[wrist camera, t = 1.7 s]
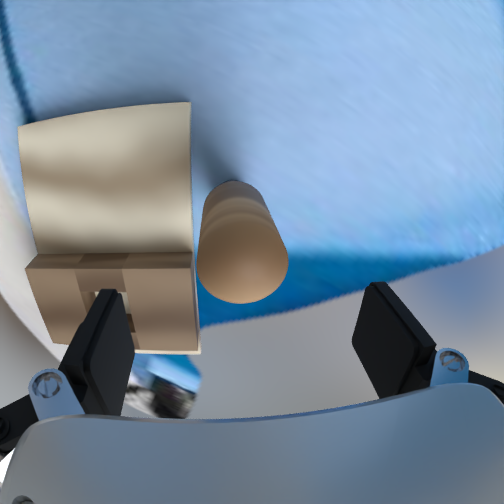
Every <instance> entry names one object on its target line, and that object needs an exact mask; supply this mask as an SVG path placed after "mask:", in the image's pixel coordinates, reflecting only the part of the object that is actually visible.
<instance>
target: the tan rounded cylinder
mask: <svg viewBox="0 0 504 504" xmlns="http://www.w3.org/2000/svg"><path fill="white" fill-rule="evenodd" d="M287 269H288V254H287V250H286V248H285V246H284V243H283V241H282V239H281V237H280V235H279V232H278V230H277V228H276V226H275V223H274V221H273V219H272V217H271V215H270V212H269V210H268V208H267V206H266V204H265V202H264V199H263V197H262V196H261V194H260V193H259V191H258V190H257V189H255V188H254V187H253V186H251V185H249V184H247V183H244V182H240V181H235V180H230V181H226V182H224V183H223V184H221V185H219V186H217V187H216V188H214V189H213V190H212V191H211V192H210V193H209V195H208V196H207V198H206V200H205V203H204V207H203V214H202V222H201V229H200V237H199V245H198V254H197V273H198V277H199V279H200V281H201V283H202V284H203V286H204V287H205V288H206V289H207V291H209V292H210V293H211V294H212V295H214V296H215V297H217V298H219V299H221V300H224V301H227V302H231V303H250V302H254V301H258V300H260V299H263V298H265V297H266V296H268V295H270V294H271V293H272V292H274V291H275V290H276V289H277V288H278V287H279V285H280V284H281V283H282V281H283V280H284V278H285V275H286V273H287Z"/></svg>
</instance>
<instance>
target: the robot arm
mask: <svg viewBox="0 0 504 504" xmlns="http://www.w3.org/2000/svg"><path fill="white" fill-rule="evenodd" d="M352 345H353V347H354V349H355V351H356V353H357V355H358V357H359V359H360V361H361V363H362V365H363V367H364V369H365V371H366V373H367V374H368V377H369V378H370V380H371V382H372V384H373V386H374V388H375V390H376V392H377V395H378V396H379V399H378V400H373V401H368V402H363V403H359V404H354V405H348V406H342V407H336V408H330V409H324V410H317V411H311V412H303V413H295V414H286V415H276V416H264V417H251V418H232V419H162V418H139V417H125V416H120V415H121V410H122V406H123V402H124V397H125V393H126V388H127V384H128V380H129V376H130V372H131V368H132V364H133V360H134V356H135V347H134V343H133V339H132V335H131V331H130V327H129V323H128V319H127V315H126V311H125V306H124V302H123V297H122V294H121V293H118V292H117V290H116V289H101V290H100V291H99V293H98V295H97V297H96V299H95V300H94V302H93V304H92V306H91V308H90V310H89V312H88V314H87V315H86V317H85V319H84V321H83V322H82V323H81V324H80V325H79V327H78V329H77V331H76V332H75V334H74V336H73V338H72V341H71V343H70V345H69V347H68V349H67V351H66V353H65V355H64V357H63V359H62V361H61V364H60V366H59V368H58V370H57V369H45V370H42V371H40V372H38V373H36V374H35V375H34V376H33V377H32V379H31V381H30V382H29V386H28V390H29V394H28V395H26V396H25V397H23V398H21V399H19V400H17V401H15V402H13V403H11V404H9V405H7V406H5V407H3V408H1V409H0V504H504V384H503V383H502V382H500V381H497V380H494V379H491V378H489V377H486V376H484V375H480V374H478V373H475V372H473V371H470V370H469V364H468V361H467V359H466V357H465V356H464V355H463V354H462V353H460V352H459V351H457V350H455V349H451V348H443V349H441V350H439V351H438V352H437V351H436V350H435V347H436V343H435V342H434V341H433V339H432V338H431V337H430V335H429V334H428V333H427V332H426V330H425V329H424V328H423V326H422V325H421V324H420V323H419V321H418V320H417V319H416V318H415V317H414V316H413V314H412V313H411V312H410V310H409V309H408V308H407V307H406V306H405V304H404V303H403V302H402V301H401V300H400V299H399V297H398V296H397V295H396V294H395V293H394V291H393V290H392V289H391V288H390V287H389V286H388V284H387V283H386V282H372V283H370V285H369V286H367V287H366V289H365V292H364V296H363V300H362V304H361V308H360V312H359V316H358V319H357V323H356V326H355V330H354V333H353V337H352Z"/></svg>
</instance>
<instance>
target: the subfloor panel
mask: <svg viewBox="0 0 504 504" xmlns="http://www.w3.org/2000/svg"><path fill="white" fill-rule="evenodd" d="M18 141H19V152H20V162H21V170H22V178H23V184H24V191H25V197H26V202H27V208H28V213H29V218H30V222H31V227H32V231H33V236H34V240H35V244H36V248H37V252H38V255H37V256H36V257H35V258H34V259H33V260H32V261H31V262H30V263H29V265H28V266H27V267H26V268H25V271H26V274H27V277H28V280H29V283H30V286H31V289H32V292H33V294H34V297H35V300H36V303H37V305H38V308H39V310H40V313H41V316H42V318H43V320H44V323H45V325H46V328H47V330H48V332H49V335H50V337H51V339H52V341H53V343H57V344H66V345H70V343H71V341H72V338H73V336H74V334H75V332H76V331H77V329H78V327H79V325H80V324H81V323H82V322H83V321H84V319H85V317H86V315H87V314H88V312H89V310H90V308H91V306H92V304H93V302H94V300H95V299H96V297H97V295H98V293H99V291H100V290H101V289H116V290H117V292H118V293H121V294H122V297H123V302H124V306H125V311H126V315H127V319H128V323H129V327H130V331H131V335H132V339H133V343H134V347H135V353H151V354H201V337H200V326H199V314H198V302H197V288H196V274H195V257H194V238H193V215H192V181H191V102H177V103H161V104H148V105H137V106H127V107H119V108H111V109H103V110H96V111H90V112H84V113H78V114H72V115H67V116H62V117H57V118H52V119H48V120H43V121H39V122H34V123H30V124H26V125H22V126H19V127H18Z"/></svg>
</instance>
